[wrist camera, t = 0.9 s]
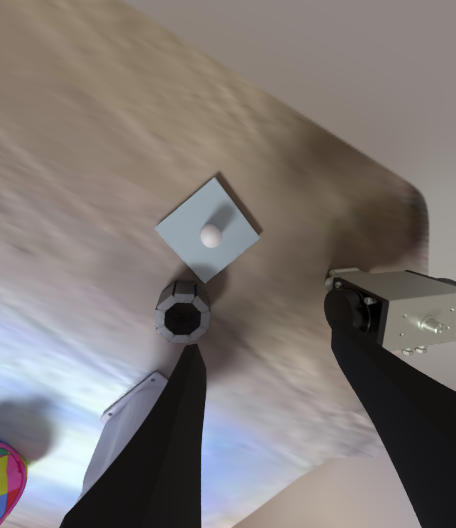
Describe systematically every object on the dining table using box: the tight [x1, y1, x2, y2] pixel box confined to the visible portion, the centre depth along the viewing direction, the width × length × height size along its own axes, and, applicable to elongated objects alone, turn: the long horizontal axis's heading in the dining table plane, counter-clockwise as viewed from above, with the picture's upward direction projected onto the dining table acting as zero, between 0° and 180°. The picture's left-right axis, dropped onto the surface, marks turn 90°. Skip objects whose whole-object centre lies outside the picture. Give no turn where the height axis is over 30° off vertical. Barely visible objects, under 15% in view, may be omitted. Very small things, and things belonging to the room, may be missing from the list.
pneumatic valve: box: [324, 267, 456, 355], centre depth 23 cm, size 6×12×12 cm, turn 93°
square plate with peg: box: [154, 177, 260, 283], centre depth 22 cm, size 8×8×4 cm
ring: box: [155, 280, 211, 343], centre depth 24 cm, size 5×5×4 cm
